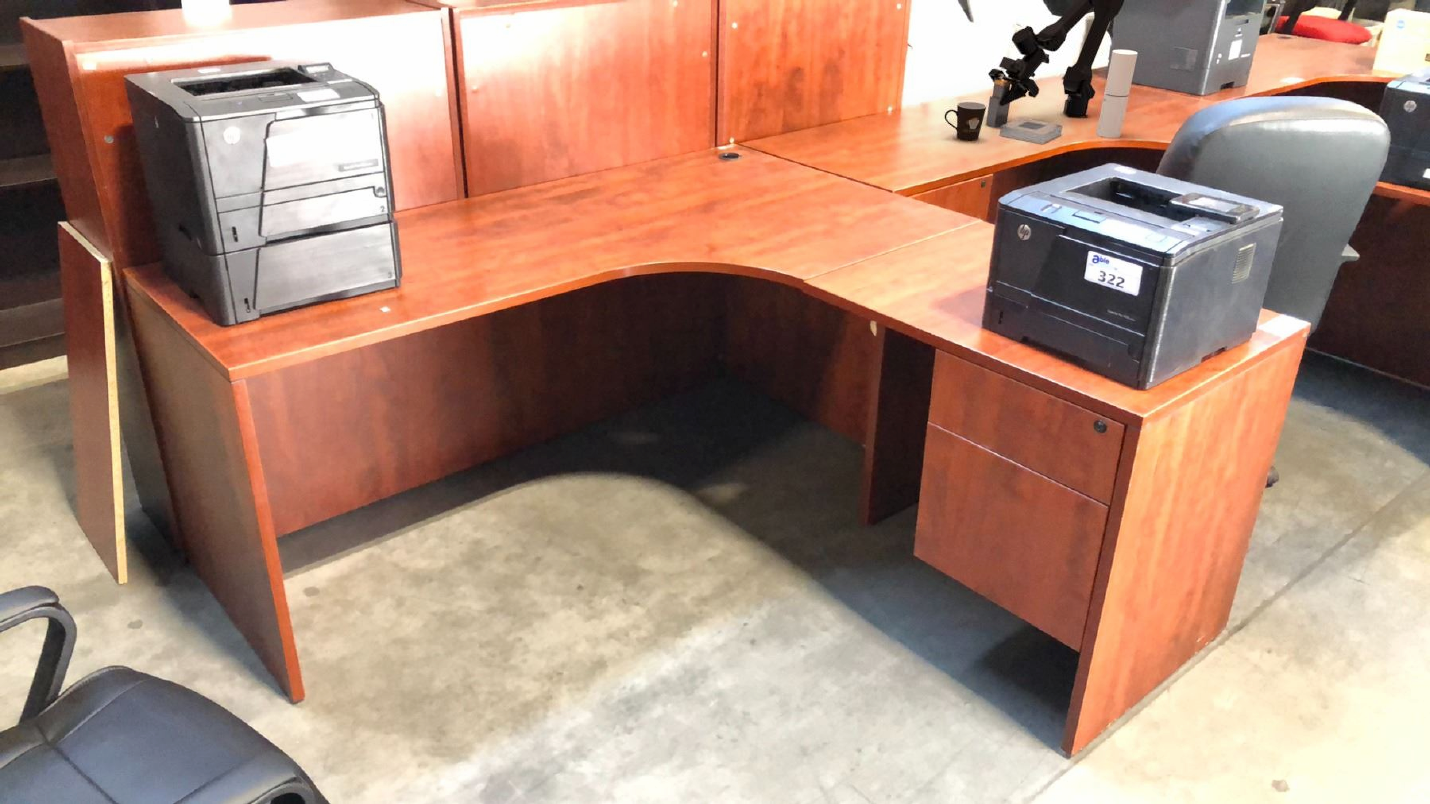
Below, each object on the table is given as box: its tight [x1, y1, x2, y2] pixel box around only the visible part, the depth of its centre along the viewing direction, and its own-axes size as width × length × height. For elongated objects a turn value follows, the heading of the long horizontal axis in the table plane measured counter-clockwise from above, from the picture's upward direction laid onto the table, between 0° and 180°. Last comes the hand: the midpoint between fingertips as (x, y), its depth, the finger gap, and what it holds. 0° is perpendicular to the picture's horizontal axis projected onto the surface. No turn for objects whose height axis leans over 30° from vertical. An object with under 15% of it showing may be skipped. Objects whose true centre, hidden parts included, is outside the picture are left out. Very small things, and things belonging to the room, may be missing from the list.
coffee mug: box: [944, 101, 987, 142], centre depth 316 cm, size 12×9×10 cm
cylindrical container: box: [1096, 49, 1138, 139], centre depth 319 cm, size 7×7×25 cm
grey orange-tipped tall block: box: [985, 79, 1011, 129], centre depth 329 cm, size 5×4×14 cm
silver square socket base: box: [999, 117, 1064, 145], centre depth 322 cm, size 14×14×3 cm
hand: (996, 103), depth 328 cm, fingers open, 4 cm apart
